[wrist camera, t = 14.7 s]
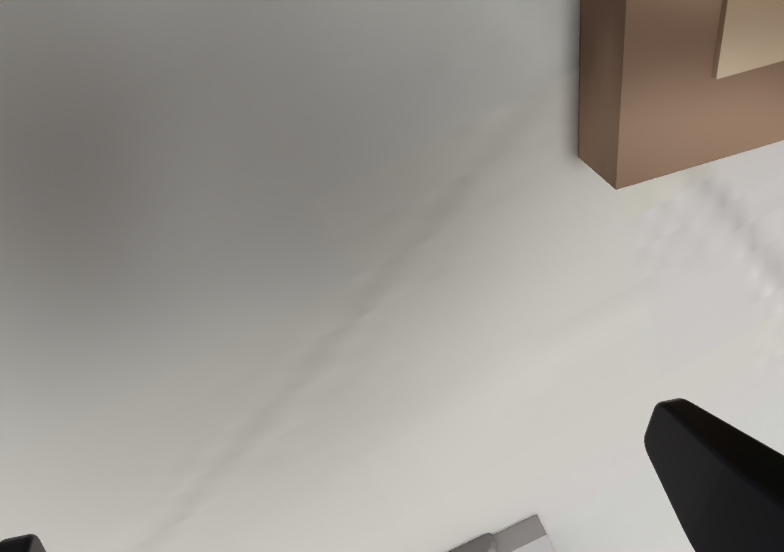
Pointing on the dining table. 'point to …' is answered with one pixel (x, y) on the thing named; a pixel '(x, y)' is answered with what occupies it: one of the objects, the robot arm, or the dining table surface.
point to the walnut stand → (677, 83)
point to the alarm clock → (512, 539)
